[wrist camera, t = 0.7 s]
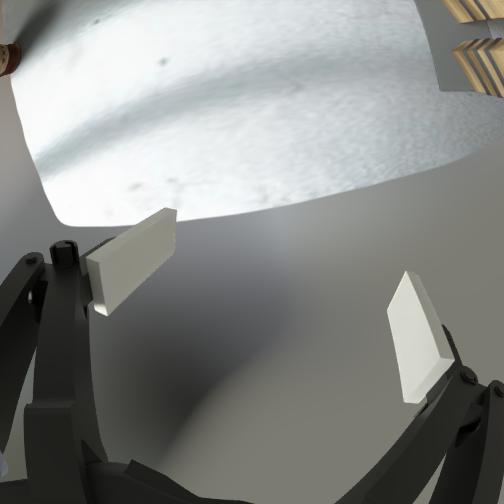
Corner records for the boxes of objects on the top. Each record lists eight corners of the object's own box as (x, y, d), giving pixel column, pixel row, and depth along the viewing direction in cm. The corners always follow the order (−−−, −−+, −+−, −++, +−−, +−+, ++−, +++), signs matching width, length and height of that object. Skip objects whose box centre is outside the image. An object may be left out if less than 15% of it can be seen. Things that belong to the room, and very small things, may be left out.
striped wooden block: (475, 92, 25) (529, 105, 15) (449, 51, 23) (503, 50, 13) (488, 80, 23) (541, 90, 13) (464, 39, 21) (516, 37, 11)
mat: (372, -78, 12) (373, -79, 12) (445, -63, 9) (446, -64, 8) (440, 90, 27) (441, 91, 27) (501, 92, 24) (502, 92, 23)
